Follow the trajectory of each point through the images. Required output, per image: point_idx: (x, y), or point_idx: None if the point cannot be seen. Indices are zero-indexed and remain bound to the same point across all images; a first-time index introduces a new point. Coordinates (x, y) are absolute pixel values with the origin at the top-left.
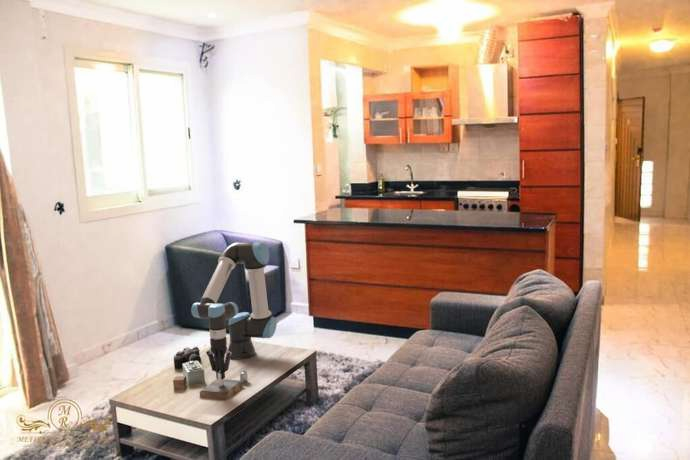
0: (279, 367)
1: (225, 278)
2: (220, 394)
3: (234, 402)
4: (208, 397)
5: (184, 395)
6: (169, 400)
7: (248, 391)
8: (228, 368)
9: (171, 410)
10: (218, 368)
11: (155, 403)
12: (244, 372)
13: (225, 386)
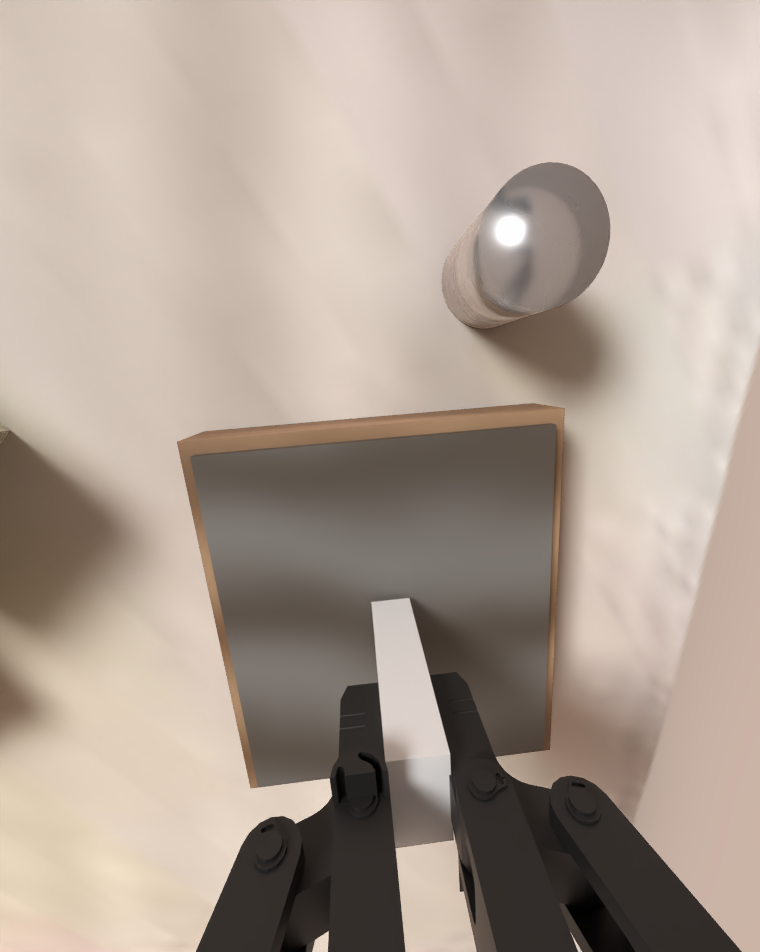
0: None
1: None
2: None
3: (615, 717)
4: None
5: (99, 757)
6: (61, 859)
7: (645, 498)
8: (624, 817)
9: None
10: (361, 856)
11: (3, 924)
12: (563, 230)
13: (454, 629)
